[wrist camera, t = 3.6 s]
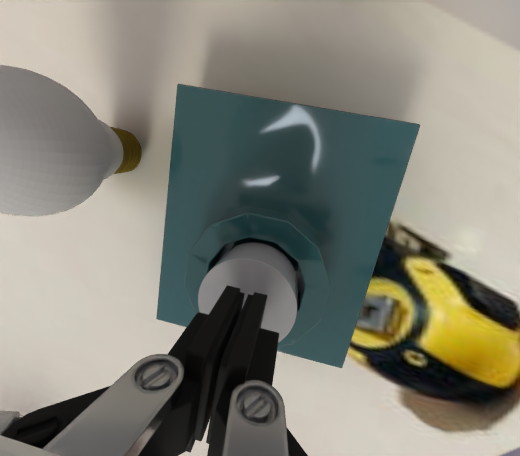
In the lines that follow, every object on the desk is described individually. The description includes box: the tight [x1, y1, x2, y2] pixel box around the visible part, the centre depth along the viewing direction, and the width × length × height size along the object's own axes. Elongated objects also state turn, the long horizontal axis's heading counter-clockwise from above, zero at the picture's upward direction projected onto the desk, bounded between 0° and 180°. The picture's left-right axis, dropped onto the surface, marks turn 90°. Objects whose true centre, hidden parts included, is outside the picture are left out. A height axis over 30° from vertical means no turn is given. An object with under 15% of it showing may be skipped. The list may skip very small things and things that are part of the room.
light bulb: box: [0, 65, 141, 216], centre depth 13 cm, size 6×6×10 cm
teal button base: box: [157, 84, 420, 368], centre depth 15 cm, size 14×12×5 cm
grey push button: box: [198, 242, 298, 342], centre depth 13 cm, size 4×4×2 cm
